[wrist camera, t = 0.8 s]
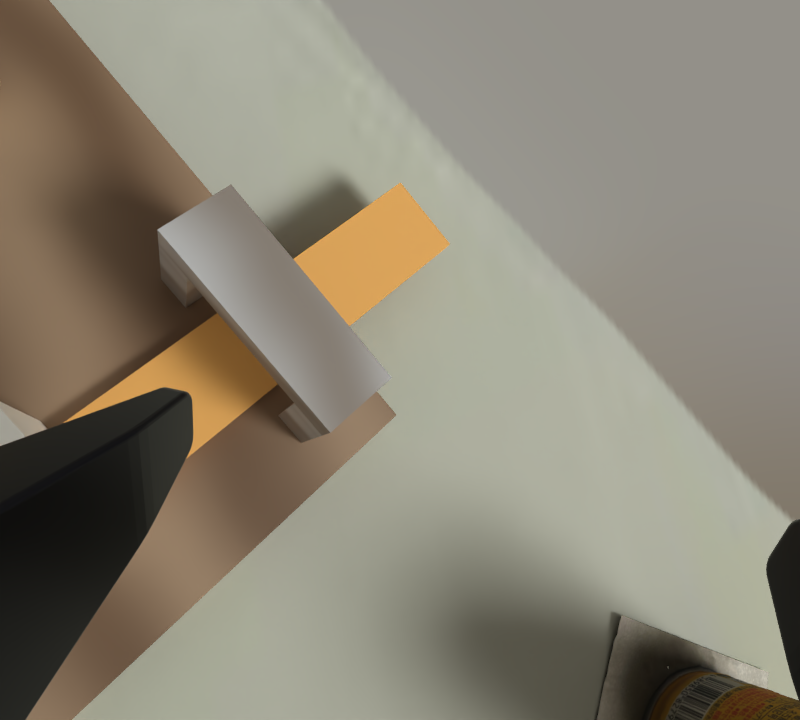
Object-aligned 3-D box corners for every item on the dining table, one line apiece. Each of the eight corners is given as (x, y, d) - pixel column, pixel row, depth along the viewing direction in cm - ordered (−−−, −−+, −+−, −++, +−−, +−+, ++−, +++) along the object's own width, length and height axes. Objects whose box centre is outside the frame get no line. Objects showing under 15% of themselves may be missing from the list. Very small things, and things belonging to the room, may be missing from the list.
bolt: (38, 602, 16) (-18, 649, 11) (-64, 493, 16) (-163, 496, 11) (453, 257, 23) (522, 200, 18) (388, 177, 23) (442, 98, 18)
